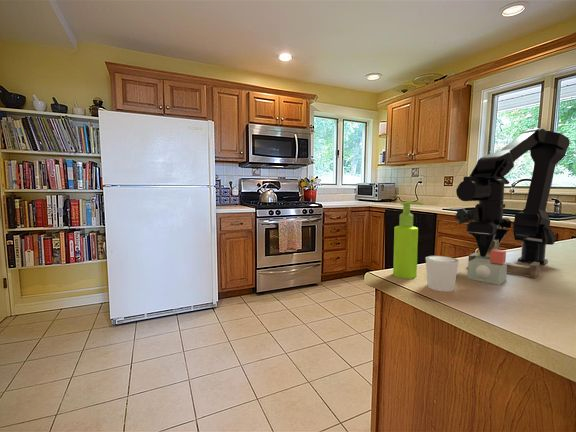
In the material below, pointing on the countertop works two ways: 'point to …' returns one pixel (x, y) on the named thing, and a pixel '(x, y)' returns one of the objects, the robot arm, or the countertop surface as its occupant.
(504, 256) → the red cube
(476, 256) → the carriage
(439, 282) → the white cup
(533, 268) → the brown i-shaped bar
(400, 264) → the soap dispenser
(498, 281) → the cabinet
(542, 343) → the countertop surface
